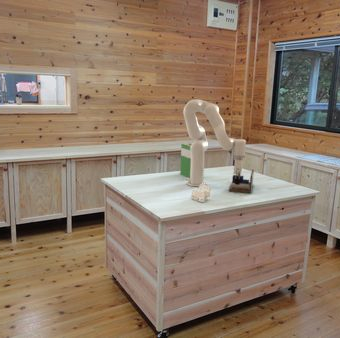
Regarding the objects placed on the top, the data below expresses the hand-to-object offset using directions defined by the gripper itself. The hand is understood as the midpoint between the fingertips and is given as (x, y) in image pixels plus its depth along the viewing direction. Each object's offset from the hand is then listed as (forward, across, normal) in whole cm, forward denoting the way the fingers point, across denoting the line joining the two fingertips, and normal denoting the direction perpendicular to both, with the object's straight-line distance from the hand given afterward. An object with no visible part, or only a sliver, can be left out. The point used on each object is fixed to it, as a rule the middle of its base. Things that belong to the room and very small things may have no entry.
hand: (237, 183), depth 261 cm
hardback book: (+5, -28, -39) cm, 48 cm away
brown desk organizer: (+5, -4, +3) cm, 7 cm away
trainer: (+1, 0, +2) cm, 2 cm away
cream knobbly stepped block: (+5, +32, -19) cm, 38 cm away
